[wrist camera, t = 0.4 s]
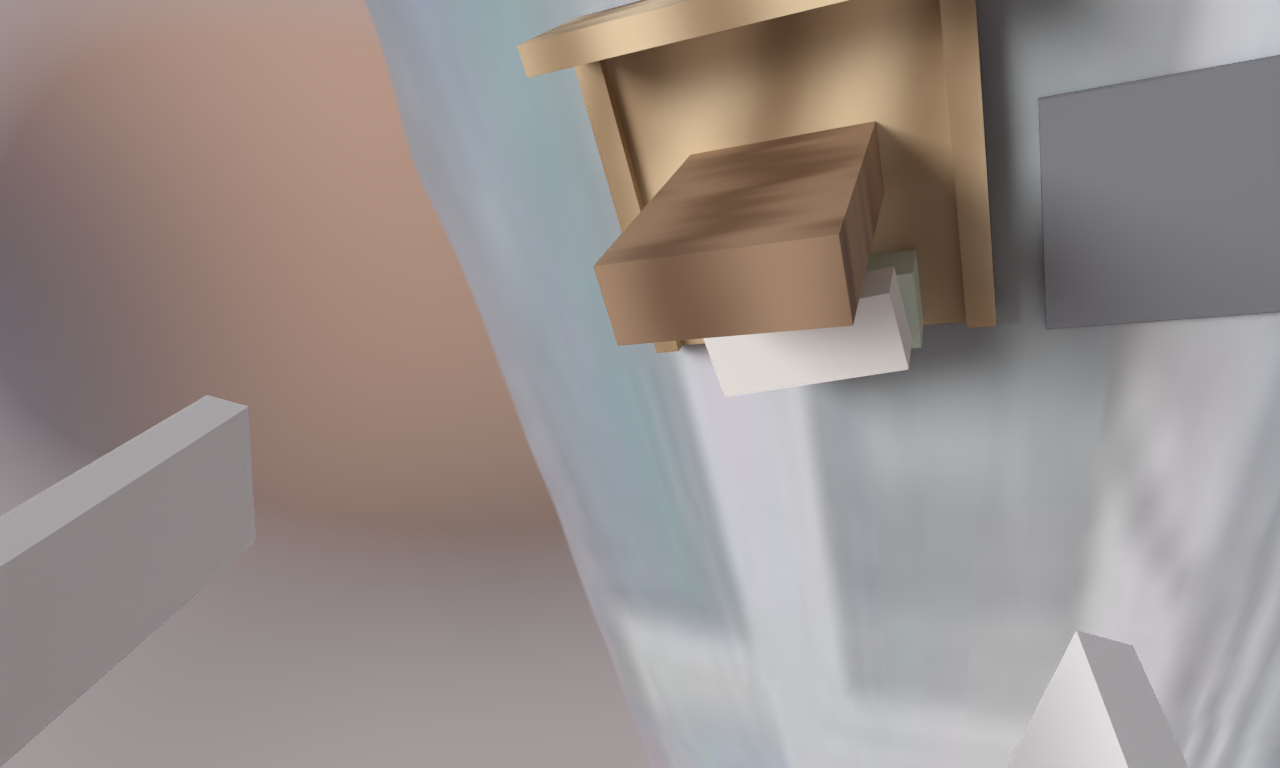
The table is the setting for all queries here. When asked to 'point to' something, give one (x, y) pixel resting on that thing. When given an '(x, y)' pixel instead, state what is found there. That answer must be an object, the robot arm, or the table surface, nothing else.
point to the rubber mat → (1163, 197)
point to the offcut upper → (820, 346)
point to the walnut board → (750, 241)
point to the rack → (800, 111)
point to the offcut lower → (905, 286)
